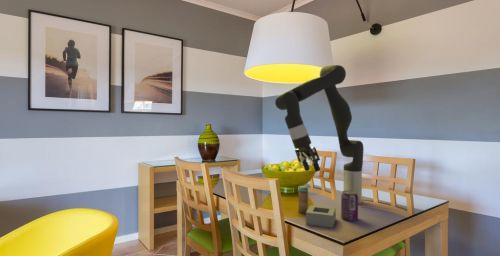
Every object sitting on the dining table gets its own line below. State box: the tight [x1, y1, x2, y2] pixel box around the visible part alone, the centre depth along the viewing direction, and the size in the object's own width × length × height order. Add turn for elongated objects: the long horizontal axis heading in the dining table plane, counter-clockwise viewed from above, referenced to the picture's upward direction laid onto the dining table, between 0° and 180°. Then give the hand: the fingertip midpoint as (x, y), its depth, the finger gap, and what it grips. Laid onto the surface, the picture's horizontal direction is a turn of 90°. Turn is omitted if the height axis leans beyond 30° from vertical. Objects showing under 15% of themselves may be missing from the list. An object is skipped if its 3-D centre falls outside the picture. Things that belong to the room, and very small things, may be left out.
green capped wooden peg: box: [298, 185, 309, 214], centre depth 135 cm, size 4×4×12 cm
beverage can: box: [340, 190, 359, 222], centre depth 125 cm, size 7×7×12 cm
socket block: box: [305, 204, 337, 229], centre depth 122 cm, size 11×11×5 cm
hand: (312, 170), depth 123 cm, fingers open, 8 cm apart
